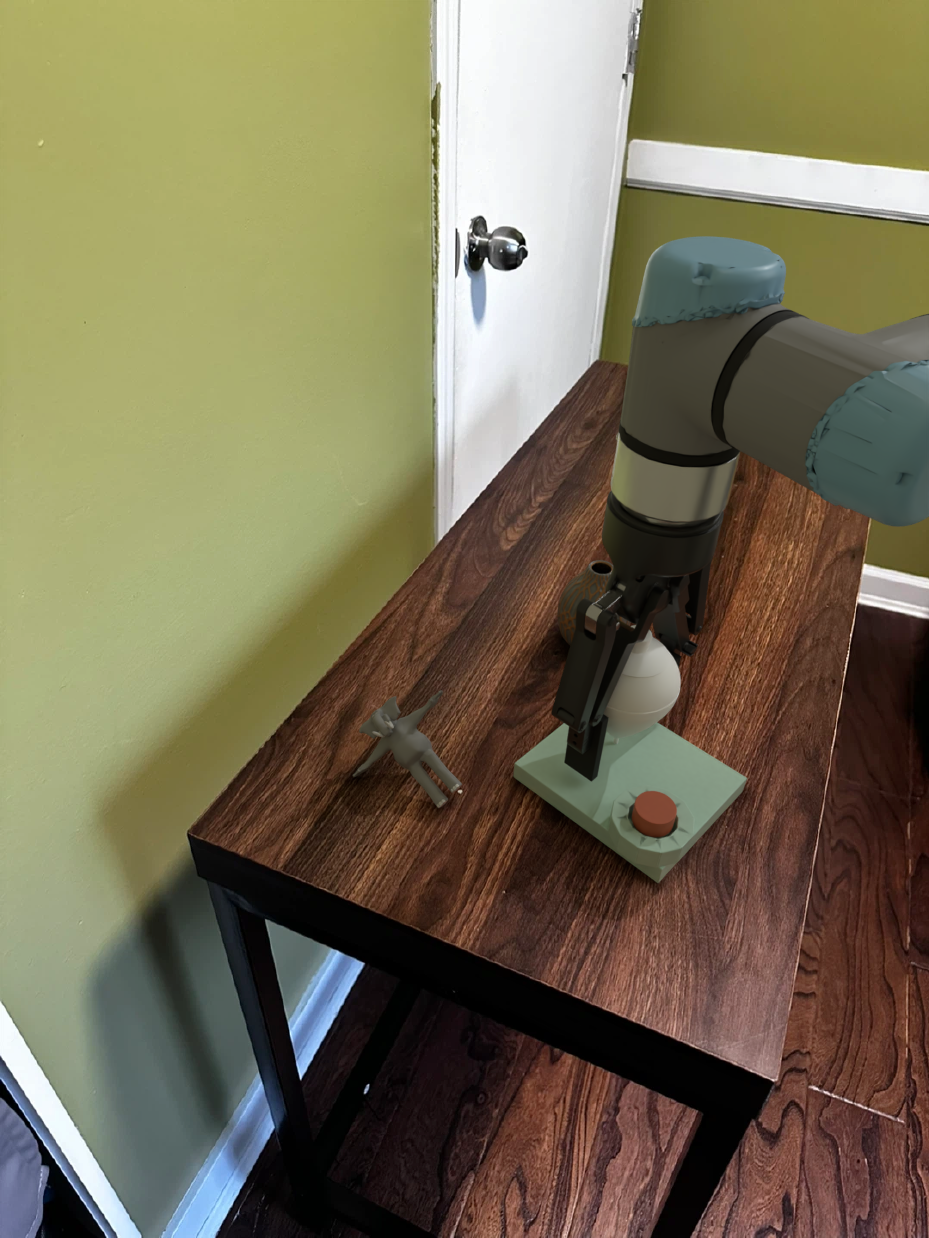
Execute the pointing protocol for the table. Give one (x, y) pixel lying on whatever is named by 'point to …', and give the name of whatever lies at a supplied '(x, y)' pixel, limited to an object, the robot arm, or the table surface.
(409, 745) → the elephant figurine
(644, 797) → the button
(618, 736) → the spinning top
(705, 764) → the green push button box
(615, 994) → the table surface
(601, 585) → the vase
